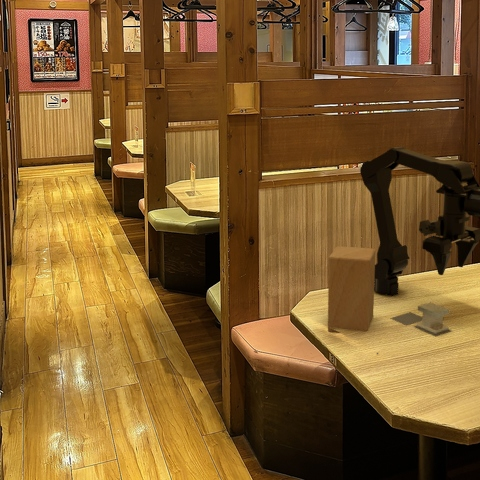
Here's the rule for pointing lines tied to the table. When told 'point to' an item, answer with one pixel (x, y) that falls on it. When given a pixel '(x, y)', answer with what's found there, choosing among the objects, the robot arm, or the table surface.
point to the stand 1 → (407, 318)
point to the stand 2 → (432, 333)
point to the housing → (433, 318)
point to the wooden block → (351, 288)
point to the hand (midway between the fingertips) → (450, 270)
